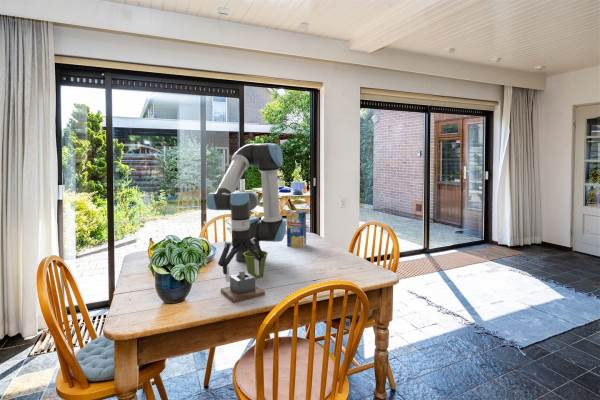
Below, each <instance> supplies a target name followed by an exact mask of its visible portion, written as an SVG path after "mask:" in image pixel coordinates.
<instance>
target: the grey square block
mask: <svg viewBox="0 0 600 400" xmlns="http://www.w3.org/2000/svg"><path fill="white" fill-rule="evenodd" d="M229 278H230V282H229V287H230V290H232V291H233V292H234V293H236V294H237V295H241V294H245V293H249V292H254V291H255V285H256V277H254V276H252V275H251V274H249V273H248V271H247V272H245V278H242V279H239V273H237V274H233V275H232V274H231V275H229Z"/></svg>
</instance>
